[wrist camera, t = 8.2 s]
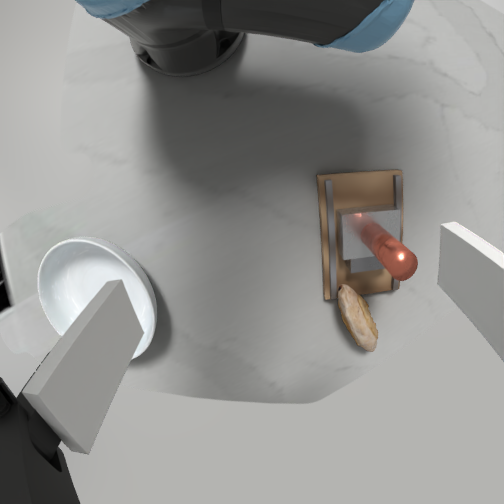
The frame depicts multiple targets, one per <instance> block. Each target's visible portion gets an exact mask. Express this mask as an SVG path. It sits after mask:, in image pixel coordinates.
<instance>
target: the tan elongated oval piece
mask: <svg viewBox="0 0 504 504" xmlns="http://www.w3.org/2000/svg"><path fill="white" fill-rule="evenodd" d="M338 299H339V300H338V306H339V309H340V311H341V313H342V314H341V316H342V320H343V322H344V324H345V325H346V327H347V329H348V330H349V332H350V333H351V335H352V337H353V338H354V339H355V342H356V344H357V345H358V346H361V347H363V348H364V349H365V350H367V351H370V352H373V351H374V350H375V348H376V345H377V338H378V330H377V329H376V324H375V323H374V322H373V318H372V317H371V314H370V311H369V310H368V307H369V306H368V304H367V302H366V301H365V300H364V299H363V298H362V297H361V296H360V295H357V294H356V292H355V291H354V290H353V289H352V288H351V287H349V286H348V285H345V284H342V285H339V287H338Z"/></svg>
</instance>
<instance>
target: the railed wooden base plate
mask: <svg viewBox="0 0 504 504" xmlns="http://www.w3.org/2000/svg"><path fill="white" fill-rule="evenodd" d="M316 176H317V187H318V199H319V213H320V227H321V244H322V264H323V290H324V297H325V300H327V299H331V300H332V299H337V298H338V287H339V285H342V284H345V285H348V286H349V287H351V288H352V289H353V290H354V291H355V292H356V294H357V295H362V294H369V293H376V292H382V291H388V290H398V289H399V286H400V281H398V280H396V279H394V278H393V277H392V276H391V274H390V273H389V272H388V271H387V270H386V269H378V270H371V271H363V272H356V273H351V272H350V271H349V269H348V268H347V266H346V264H345V260H343V258H342V257H341V255H340V254H339V252H338V232H337V212H336V209H344V208H355V207H366V206H377V205H389V204H392V205H393V206H395V207H397V208H398V209H400V242H401V243H402V236H403V177H402V171H401V170H378V171H361V172H347V173H334V174H322V175H316Z"/></svg>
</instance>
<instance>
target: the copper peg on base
mask: <svg viewBox="0 0 504 504" xmlns="http://www.w3.org/2000/svg"><path fill="white" fill-rule="evenodd" d="M336 212H337V232H338V252H339V254H340V255H341V257H342V258H343V260H345V264H346V266H347V268H348V269H349V271H350V272H351V273H356V272H363V271H371V270H378V269H386V270H387V271H388V272H389V273H390V274H391V276H392V277H393V278H394V279H396V280H398V281H404V280H407V279H409V278H410V277H411V276H412V275H413V274H414V273H415V271H416V269H417V265H418V261H417V257H416V256H415V254H413V253H412V252H411V251H410V250H409V249H408V248H407V247H405V246H404V245H403V244H402V243H401V242H400V209H398V208H397V207H395V206H393V205H392V204H389V205H377V206H366V207H355V208H344V209H336Z"/></svg>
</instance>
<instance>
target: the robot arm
mask: <svg viewBox="0 0 504 504" xmlns="http://www.w3.org/2000/svg"><path fill="white" fill-rule="evenodd" d="M75 1H76V2H77V3H79V4H80V5H81V6H83V7H84V8H85V9H86V11H87V12H88V13H89V14H90V15H92V16H94V17H96V18H98V17H99V18H100V19H102V20H104V21H105V22H107V23H109V24H110V25H112V26H113V27H115V28H116V29H118V30H120V31H121V32H123V33H124V34H126V35H127V36H129V37H130V41H131V45H132V48H133V50H134V52H135V53H136V55H137V56H138V57H139V59H140V60H141V61H142V62H143V63H145V64H146V65H147V66H149V67H151V68H152V69H154V70H156V71H158V72H160V73H163V74H166V75H171V76H192V75H197V74H200V73H204V72H206V71H209V70H211V69H213V68H215V67H217V66H218V65H220V64H221V63H223V62H224V61H225V60H226V59H228V58H229V57H230V56H231V55H232V54H233V52H234V51H235V50H236V49H237V47H238V46H239V44H240V42H241V40H242V38H243V35H244V33H251V34H260V35H267V36H274V37H281V38H287V39H293V40H298V41H303V42H308V43H313V44H314V45H315V46H317V47H321V48H328V47H332V48H337V49H342V50H346V51H351V52H357V53H362V52H366V51H369V50H374V49H376V48H378V47H380V46H381V45H383V44H384V43H386V42H387V41H388V40H389V39H390V38H391V37H392V36H393V35H394V34H395V33H396V31H397V30H398V29H399V28H400V26H401V25H402V23H403V22H404V20H405V19H406V17H407V15H408V14H409V12H410V10H411V7H412V5H413V3H414V0H75ZM437 284H438V285H439V286H440V287H441V288H442V289H443V291H444V292H445V293H446V294H447V295H448V296H449V297H450V298H451V299H452V300H453V302H454V303H455V304H456V305H457V306H458V307H459V308H460V309H461V310H462V312H463V313H464V314H465V315H466V316H467V317H468V318H469V320H470V321H471V322H472V323H473V324H474V326H475V327H476V328H477V329H478V330H479V331H480V333H481V334H482V335H483V336H484V338H485V339H486V340H487V341H488V342H489V344H490V345H491V346H492V347H493V349H494V350H495V351H496V352H497V354H498V355H499V356H500V358H501V359H502V360H503V362H504V253H502V252H501V251H500V250H498V249H497V248H495V247H494V246H492V245H491V244H489V243H488V242H486V241H485V240H483V239H482V238H480V237H479V236H477V235H476V234H474V233H473V232H471V231H469V230H468V229H466V228H465V227H463V226H461V225H460V224H458V223H457V222H451V223H445V224H441V237H440V257H439V271H438V283H437ZM143 335H144V331H143V329H142V327H141V324H140V322H139V320H138V317H137V315H136V313H135V310H134V308H133V306H132V303H131V301H130V298H129V296H128V293H127V291H126V288H125V286H124V283H123V281H122V279H120V280H114V281H107V282H106V283H105V285H104V286H103V287H102V288H101V289H100V290H99V292H98V293H97V294H96V295H95V296H94V298H93V299H92V300H91V301H90V302H89V304H88V305H87V306H86V307H85V308H84V310H83V311H82V312H81V313H80V315H79V316H78V317H77V318H76V319H75V321H74V322H73V323H72V324H71V326H70V327H69V328H68V330H67V331H66V332H65V333H64V335H63V336H62V337H61V338H60V340H59V341H58V342H57V344H56V345H55V346H54V348H53V349H52V350H51V351H50V352H49V353H48V354H47V356H46V357H45V358H44V360H43V361H42V362H41V363H42V364H41V365H39V367H38V368H37V369H36V372H34V373H33V375H32V376H31V378H30V379H29V381H28V382H27V383H26V385H25V386H24V388H23V389H22V391H21V392H20V393H19V395H18V397H17V398H16V397H15V396H14V395H13V393H12V392H11V390H10V389H9V388H8V386H7V385H6V384H5V382H4V381H3V379H2V378H1V377H0V504H80V501H79V499H78V496H77V494H76V491H75V488H74V485H73V482H72V479H71V476H70V473H69V470H68V467H67V464H66V460H65V457H64V454H63V452H62V450H61V449H60V448H59V447H58V445H59V444H60V442H61V440H62V441H63V443H64V444H65V445H66V446H67V447H68V448H69V449H70V450H71V451H74V452H79V453H84V454H89V453H90V451H91V448H92V446H93V444H94V441H95V438H96V436H97V434H98V432H99V429H100V427H101V425H102V422H103V420H104V418H105V416H106V413H107V411H108V409H109V407H110V404H111V402H112V400H113V398H114V396H115V393H116V391H117V389H118V387H119V385H120V383H121V380H122V378H123V376H124V374H125V372H126V370H127V368H128V366H129V363H130V361H131V359H132V357H133V355H134V353H135V351H136V349H137V347H138V345H139V343H140V341H141V339H142V337H143Z"/></svg>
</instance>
